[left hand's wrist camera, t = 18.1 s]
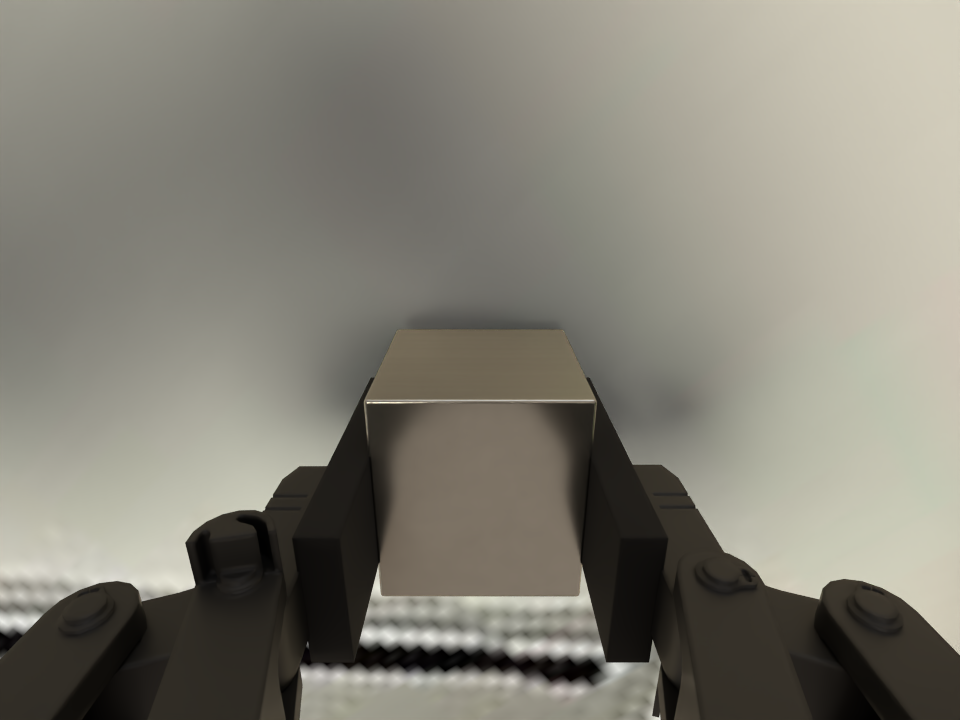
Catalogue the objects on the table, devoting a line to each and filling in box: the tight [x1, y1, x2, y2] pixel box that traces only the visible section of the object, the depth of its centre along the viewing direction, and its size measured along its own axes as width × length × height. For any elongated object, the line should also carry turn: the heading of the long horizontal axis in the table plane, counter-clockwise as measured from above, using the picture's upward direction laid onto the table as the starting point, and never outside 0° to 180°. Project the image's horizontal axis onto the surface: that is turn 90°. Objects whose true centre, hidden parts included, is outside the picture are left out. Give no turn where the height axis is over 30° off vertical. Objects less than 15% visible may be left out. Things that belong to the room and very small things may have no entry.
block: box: [364, 329, 597, 596], centre depth 13 cm, size 4×5×4 cm
